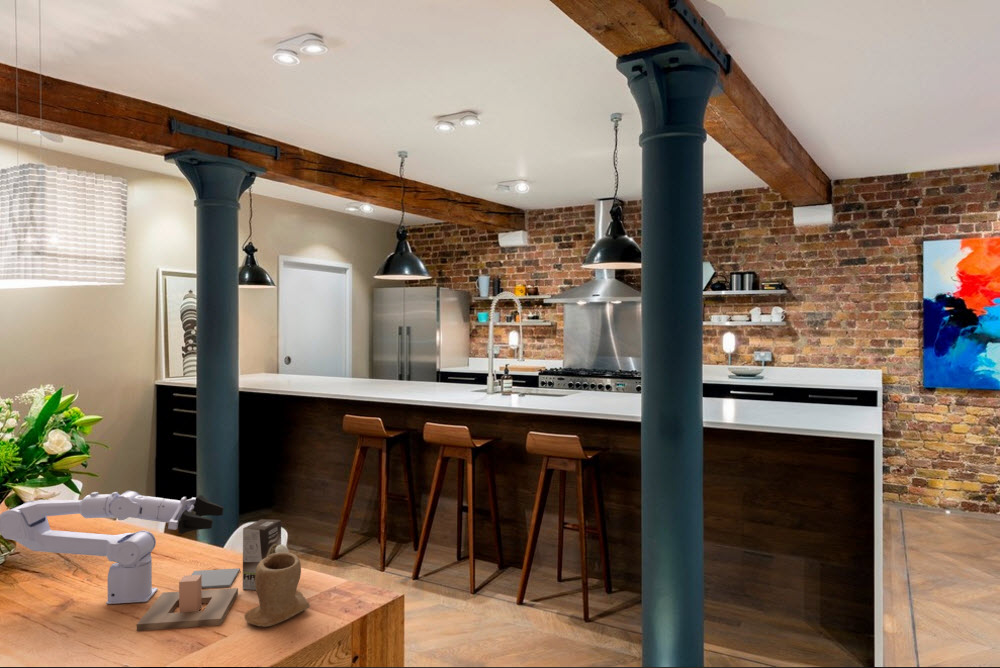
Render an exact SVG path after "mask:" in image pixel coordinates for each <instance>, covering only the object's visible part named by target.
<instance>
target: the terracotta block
mask: <svg viewBox="0 0 1000 668" xmlns="http://www.w3.org/2000/svg"><path fill="white" fill-rule="evenodd" d="M202 590H203V589H202V575H192V574H191V575H190V574H189V575H184V576H182V578H181V579H180V580H179V582H178V592H179V605H178V607H179V608H178V609H179V610H178V612H194V611H199V610H200V611H201V609H202V605H203V604H202ZM200 608H201V609H200Z"/></svg>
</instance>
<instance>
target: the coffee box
mask: <svg viewBox="0 0 1000 668" xmlns="http://www.w3.org/2000/svg"><path fill="white" fill-rule="evenodd" d="M278 545H282V519H281V520H280V519H265V518H264V519H259V520H256V521H255V522H253V523H251V524H249V525H247V526H245V527H243V528H242V589H243V590H250V591H256V587H255V574H256V568H257V565H258V564H259V562H260V561H261V560H263V559H264V558H266V557H267V556H269V555H271V554H274V553H276V552H275V549H276V547H277V546H278Z"/></svg>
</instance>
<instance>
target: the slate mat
mask: <svg viewBox="0 0 1000 668" xmlns="http://www.w3.org/2000/svg"><path fill="white" fill-rule="evenodd" d="M240 571H241V568H239V567H238V568H222V569H219V568H218V569H202V570H194V571H193V572H192V573H191V575H202V588H205V589H223V588H231V586H232V584H233V583H234V581H235V579H236V578H237V576H238V574H239V573H240Z"/></svg>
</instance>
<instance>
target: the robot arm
mask: <svg viewBox="0 0 1000 668" xmlns="http://www.w3.org/2000/svg"><path fill="white" fill-rule="evenodd" d="M193 511H194V512H195V513H192V512H193ZM77 514H80V515H81V517H83V518H84V519H100V518H101V519H104V518H116V519H117V520H118V521H125V520H127V519H128V518H132V519H138V520H139V519H140V520H143V521H144V520H145V521H153V522H161V523H167V525H168V527H167V529H168V530H175V531H176V530H178V531H177V532H178V534H179V535H183V534H186V533H188V532H189V533H190V532H192V531H199V530H209V529H212V528H213V522H214V520H213V519H212V518H210V517H205V516H213V517H214V516H216V517H217V516H223V515H224V506H222V505H220V504H217V503H215V502H212V501H210V500H209V499H207V498H205V496H203V495H202V494H198V495H197V496H196V497H193V496H192V497H191V498H189V499H187V496H183V497H181V499H180V500H178V499H172V498H171V499H170V498H164V497H158V496H157V497H156V496H149V495H141V494H140V493H139V492H137V491H134V490H126V491H124V492H123V493H121V494H119V492H118V491H114V492H112V493H108V494H107V493H105V494H101V493H100V494H99V492H98V491H93V492H91V493H89V494H88V495H85V496H84V497H83V498H82V499H37V500H28V501H26V502H23V504H21V505H17V506H15V507H13V508H10V509H7V510H5V511H3V512H1V513H0V535H1V536H2V537H3V538H4V539H5V540H13V541H14V542H16V543H18V544H20V545H22V546H23V547H25V548H26V549H28V550H30V551H31V552H32V551H33V552H39V553H40V552H41V553H56V554H69V555H79V556H81V555H83V556H95V557H106V558H107V561H109V562H114V563H112V564H111V565H110V567H109V569H108V573H107V601H106V605H112V604H114V605H115V604H129V603H130V604H131V603H132V604H133V603H147V602H148V601H149V600H150V599H151V598H152V596H153V595H154V594H155V593H156V592H157V591H158V587H153V585H152V583H153V582H152V581H153V574H152V573H153V572H152V571H153V569H152V566H153V565H152V563H153V562H152V560H153V559H152V558H153V557H152V552H153V550H154V549H155V547H156V543H157V542H156V541H157V540H156V537H155V535H154V534H153V533H152V532H151V531H148V530H143V529H142V530H138V531H136V532H125V533H120V534H119V533H118V534H105V533H92V532H80V531H79V532H78V531H67V530H53V529H51V527H50V522H49V520H48V517H56V516H68V515H77Z"/></svg>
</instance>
